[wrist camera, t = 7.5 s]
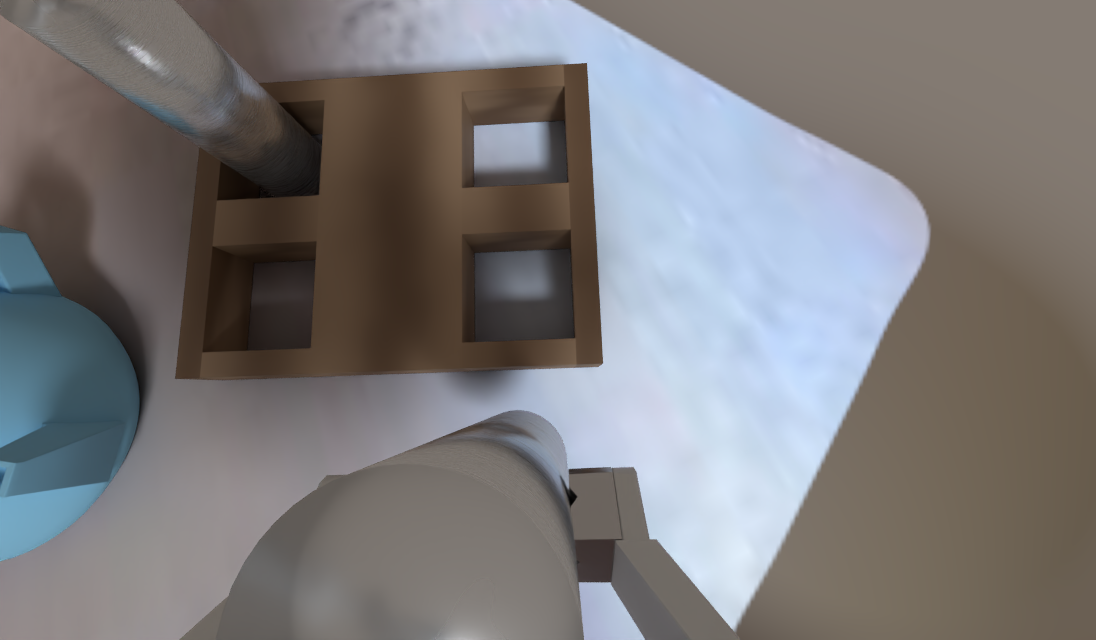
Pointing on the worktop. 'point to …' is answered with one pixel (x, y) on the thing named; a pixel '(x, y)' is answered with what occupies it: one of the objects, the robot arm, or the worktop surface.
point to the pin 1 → (179, 83)
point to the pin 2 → (424, 547)
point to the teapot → (55, 402)
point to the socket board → (394, 229)
